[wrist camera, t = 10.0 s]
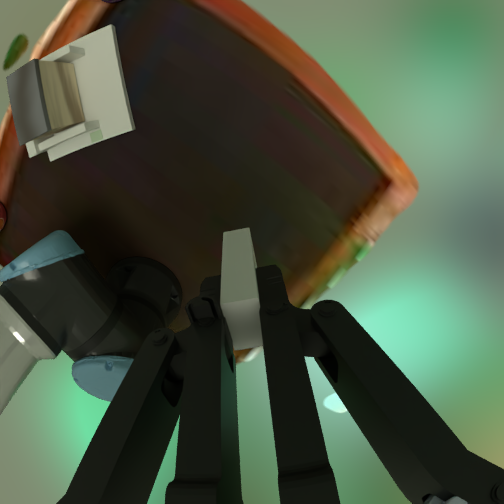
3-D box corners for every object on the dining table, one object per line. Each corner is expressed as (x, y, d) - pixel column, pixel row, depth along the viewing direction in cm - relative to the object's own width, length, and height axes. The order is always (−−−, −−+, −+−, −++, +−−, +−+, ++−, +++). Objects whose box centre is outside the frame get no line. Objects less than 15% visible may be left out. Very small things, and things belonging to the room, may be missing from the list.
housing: (114, 26, 31) (95, 16, 25) (135, 129, 40) (118, 135, 34) (34, 66, 32) (8, 65, 25) (54, 159, 41) (30, 171, 34)
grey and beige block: (73, 62, 32) (34, 58, 22) (85, 121, 37) (47, 131, 27) (48, 76, 32) (6, 77, 22) (59, 132, 37) (19, 145, 27)
